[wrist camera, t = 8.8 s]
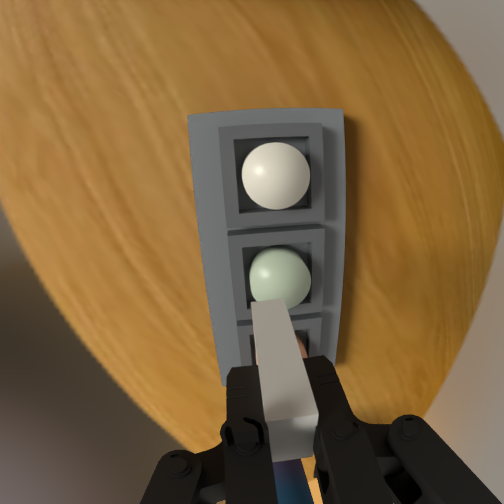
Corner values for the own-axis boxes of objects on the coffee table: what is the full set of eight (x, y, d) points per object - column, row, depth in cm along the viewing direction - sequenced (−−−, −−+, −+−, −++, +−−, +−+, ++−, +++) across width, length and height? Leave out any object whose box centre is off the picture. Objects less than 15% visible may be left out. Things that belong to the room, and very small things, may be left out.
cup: (303, 408, 34) (328, 507, 20) (285, 436, 36) (301, 526, 22) (252, 403, 33) (262, 511, 19) (238, 433, 35) (244, 528, 21)
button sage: (246, 247, 24) (248, 258, 22) (303, 242, 24) (311, 253, 22) (250, 298, 25) (252, 313, 23) (303, 293, 26) (310, 307, 23)
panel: (191, 117, 22) (184, 113, 19) (334, 111, 23) (349, 107, 19) (222, 373, 31) (222, 396, 28) (328, 361, 32) (337, 382, 28)
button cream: (239, 144, 21) (240, 144, 19) (300, 141, 21) (308, 141, 19) (243, 205, 23) (245, 211, 20) (303, 201, 23) (311, 207, 21)
